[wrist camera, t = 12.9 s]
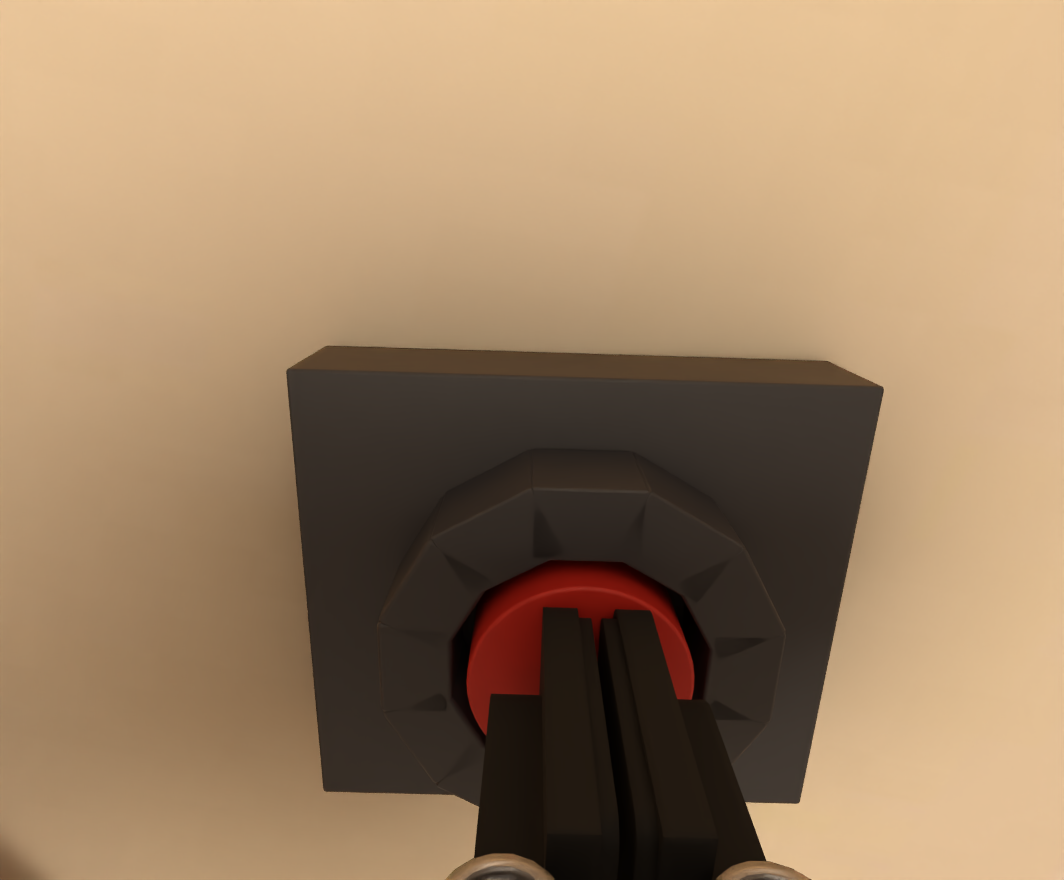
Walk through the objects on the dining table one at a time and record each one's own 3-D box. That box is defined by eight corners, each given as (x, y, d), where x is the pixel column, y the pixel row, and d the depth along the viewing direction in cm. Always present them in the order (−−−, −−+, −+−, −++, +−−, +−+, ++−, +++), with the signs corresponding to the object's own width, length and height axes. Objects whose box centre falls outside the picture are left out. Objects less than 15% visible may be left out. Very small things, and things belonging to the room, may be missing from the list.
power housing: (350, 717, 16) (291, 874, 12) (324, 345, 13) (238, 396, 9) (765, 728, 16) (838, 887, 12) (829, 360, 13) (951, 417, 9)
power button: (475, 702, 12) (466, 776, 11) (475, 531, 11) (465, 584, 10) (663, 707, 13) (682, 781, 11) (682, 537, 11) (708, 591, 10)
